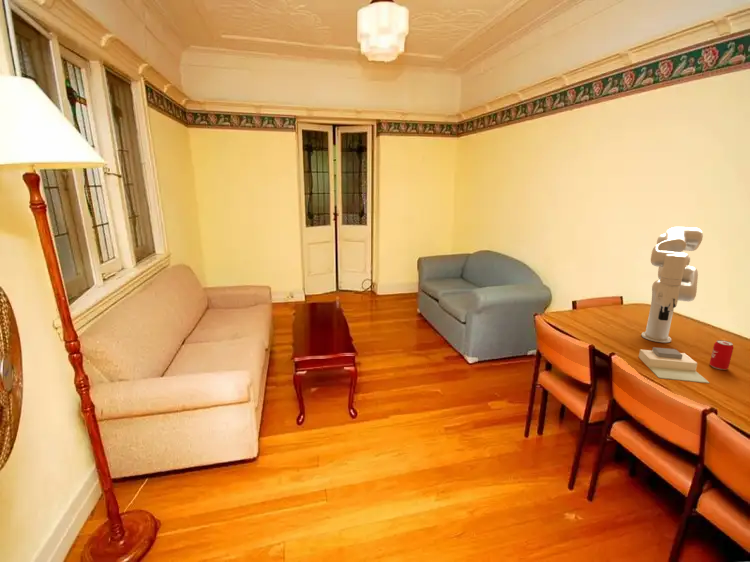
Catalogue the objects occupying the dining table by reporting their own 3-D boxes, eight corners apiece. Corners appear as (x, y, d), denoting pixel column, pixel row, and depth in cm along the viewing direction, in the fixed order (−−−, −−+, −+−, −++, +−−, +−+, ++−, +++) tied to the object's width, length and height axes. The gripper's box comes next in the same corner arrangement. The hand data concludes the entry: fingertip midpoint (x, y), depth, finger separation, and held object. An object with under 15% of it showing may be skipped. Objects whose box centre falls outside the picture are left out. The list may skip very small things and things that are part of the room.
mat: (648, 367, 165) (648, 366, 164) (696, 372, 160) (696, 371, 160) (658, 378, 156) (658, 377, 155) (709, 383, 151) (709, 382, 151)
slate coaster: (652, 351, 171) (652, 347, 171) (674, 353, 169) (675, 349, 169) (658, 356, 166) (659, 352, 165) (681, 359, 163) (682, 354, 163)
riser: (638, 357, 174) (640, 349, 173) (683, 361, 170) (685, 353, 169) (648, 367, 165) (649, 358, 164) (695, 371, 161) (697, 363, 160)
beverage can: (718, 363, 167) (724, 339, 164) (731, 370, 161) (738, 345, 158) (705, 364, 167) (711, 339, 164) (718, 370, 161) (724, 345, 158)
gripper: (653, 277, 175) (646, 313, 180) (669, 285, 161) (661, 324, 166) (671, 278, 174) (664, 315, 178) (689, 286, 160) (680, 326, 164)
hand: (662, 319), depth 172 cm, fingers closed
